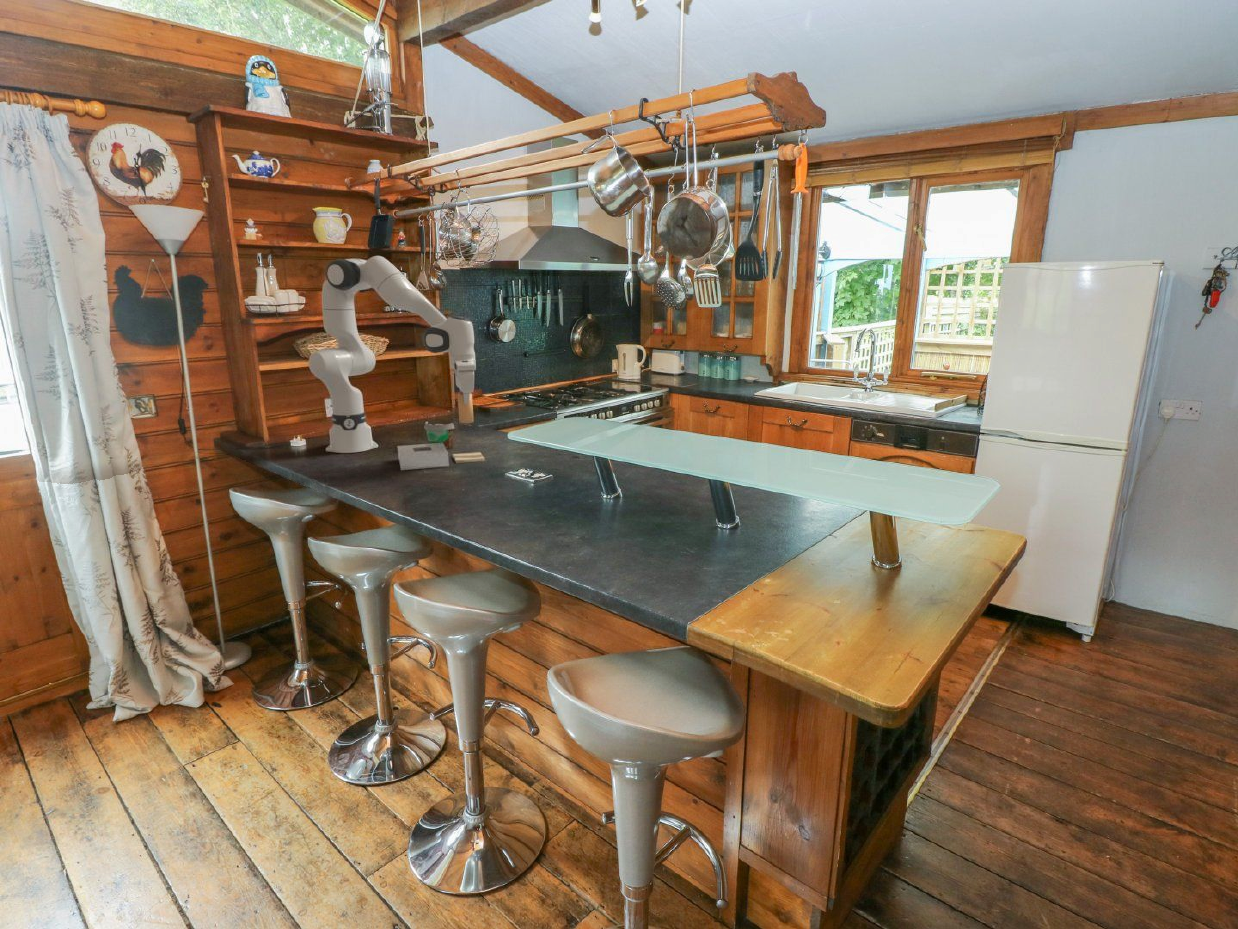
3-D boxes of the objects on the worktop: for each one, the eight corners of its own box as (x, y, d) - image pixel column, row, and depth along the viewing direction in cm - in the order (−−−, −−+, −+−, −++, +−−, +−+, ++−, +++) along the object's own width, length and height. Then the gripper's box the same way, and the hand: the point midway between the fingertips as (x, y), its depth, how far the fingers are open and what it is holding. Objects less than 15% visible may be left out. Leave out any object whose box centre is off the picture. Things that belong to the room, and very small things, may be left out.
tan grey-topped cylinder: (458, 421, 241) (456, 391, 238) (472, 420, 243) (470, 390, 240) (460, 423, 237) (458, 393, 234) (474, 422, 238) (472, 392, 236)
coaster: (453, 456, 246) (452, 454, 246) (480, 454, 250) (480, 451, 249) (456, 463, 237) (456, 460, 237) (484, 460, 240) (484, 458, 240)
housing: (398, 459, 243) (397, 446, 241) (443, 455, 248) (442, 442, 247) (401, 470, 228) (399, 456, 227) (448, 466, 233) (447, 452, 232)
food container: (419, 449, 257) (417, 424, 255) (428, 446, 263) (426, 421, 260) (447, 451, 254) (445, 426, 251) (456, 448, 260) (454, 423, 257)
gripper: (450, 360, 243) (452, 398, 246) (457, 366, 224) (460, 407, 228) (467, 359, 245) (470, 397, 248) (476, 365, 226) (478, 406, 230)
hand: (465, 402), depth 238 cm, fingers closed on tan grey-topped cylinder, 5 cm apart
